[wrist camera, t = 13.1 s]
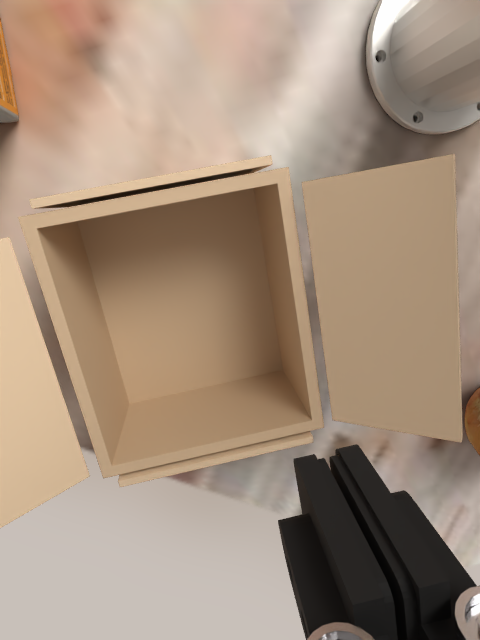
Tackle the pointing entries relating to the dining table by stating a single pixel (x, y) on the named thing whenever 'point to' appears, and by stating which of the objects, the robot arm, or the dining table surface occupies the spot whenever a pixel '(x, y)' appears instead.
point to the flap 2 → (389, 295)
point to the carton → (181, 316)
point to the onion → (473, 420)
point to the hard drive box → (6, 86)
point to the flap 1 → (30, 406)
